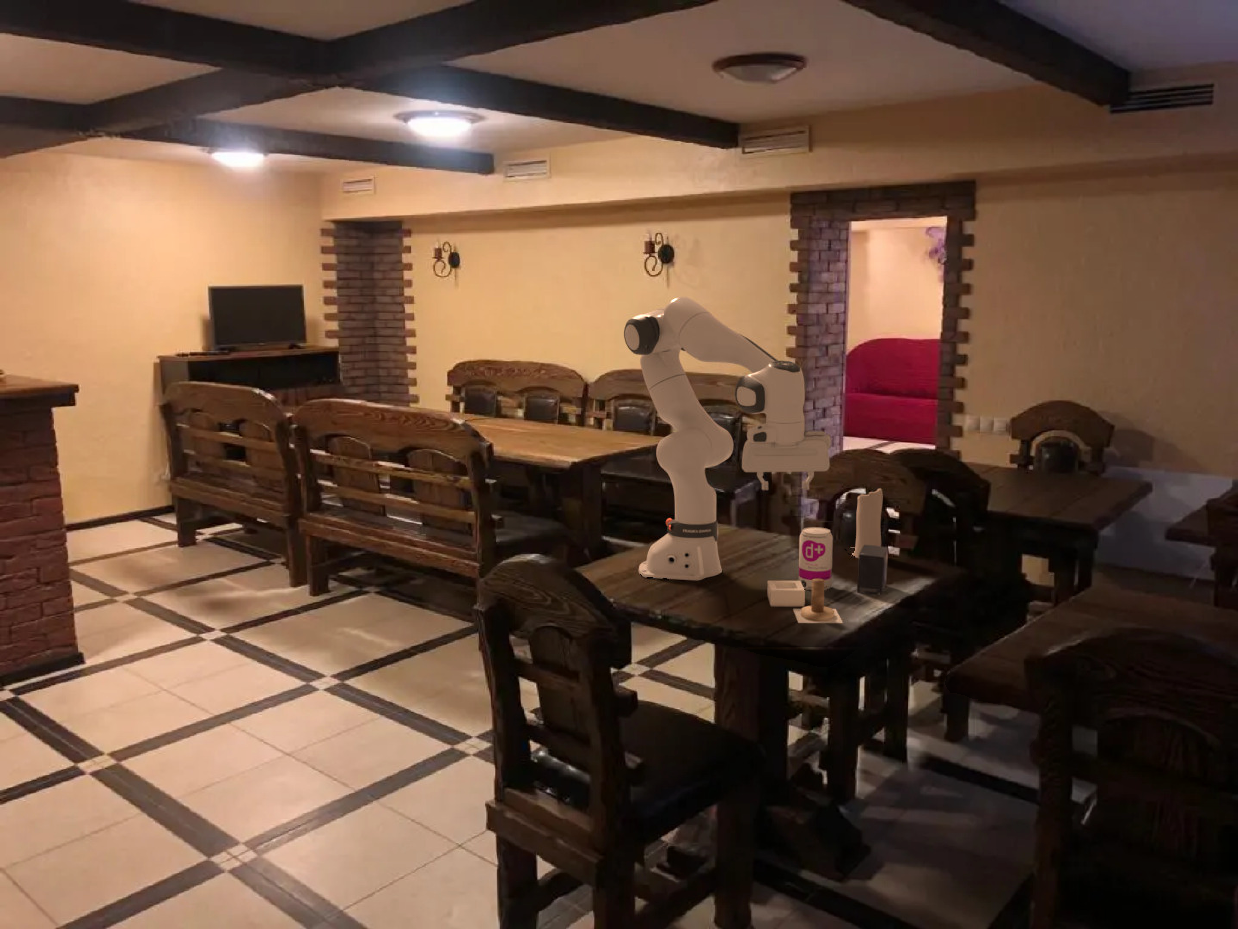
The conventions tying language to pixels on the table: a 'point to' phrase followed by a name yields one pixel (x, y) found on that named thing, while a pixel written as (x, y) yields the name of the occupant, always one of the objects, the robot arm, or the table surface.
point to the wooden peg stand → (817, 604)
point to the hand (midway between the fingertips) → (785, 489)
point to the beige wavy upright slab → (868, 520)
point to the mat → (803, 620)
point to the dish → (786, 593)
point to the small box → (872, 569)
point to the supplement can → (815, 556)
